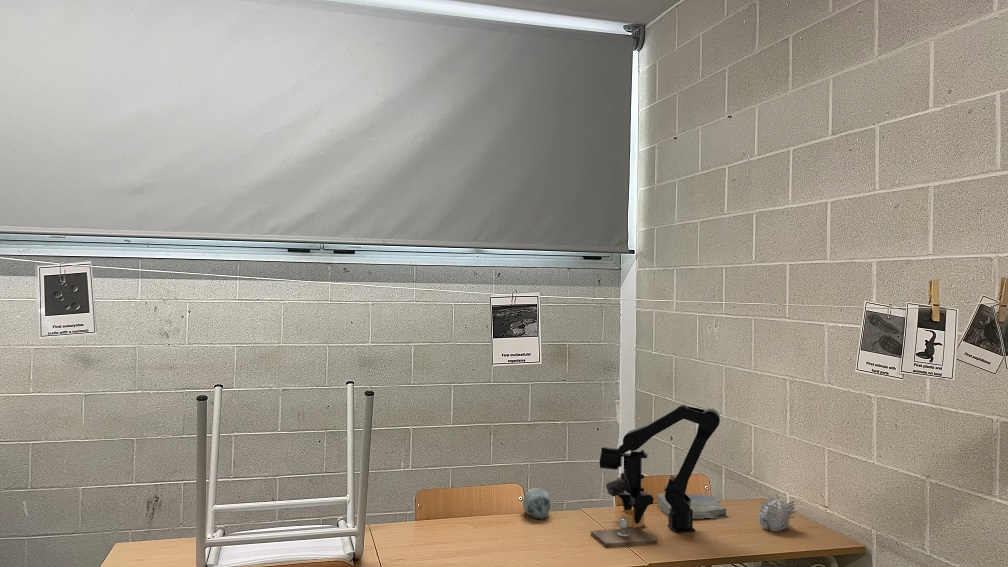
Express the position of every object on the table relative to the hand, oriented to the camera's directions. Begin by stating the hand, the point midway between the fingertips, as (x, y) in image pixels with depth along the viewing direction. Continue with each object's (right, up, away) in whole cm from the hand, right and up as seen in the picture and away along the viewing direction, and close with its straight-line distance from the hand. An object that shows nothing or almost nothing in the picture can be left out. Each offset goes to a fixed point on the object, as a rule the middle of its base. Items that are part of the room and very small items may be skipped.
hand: (632, 520), depth 237 cm
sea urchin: (+45, -2, -3) cm, 45 cm away
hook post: (-5, 0, -16) cm, 17 cm away
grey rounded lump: (-30, -1, +9) cm, 31 cm away
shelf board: (-5, -1, -16) cm, 17 cm away
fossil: (+23, -3, +16) cm, 28 cm away
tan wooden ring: (0, -1, 0) cm, 1 cm away
